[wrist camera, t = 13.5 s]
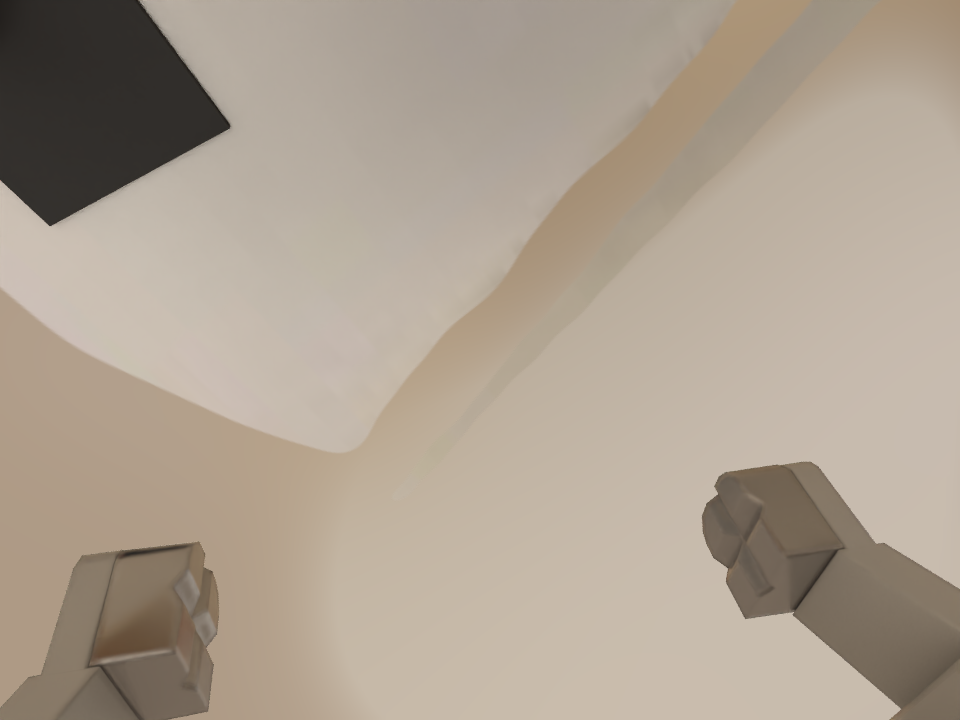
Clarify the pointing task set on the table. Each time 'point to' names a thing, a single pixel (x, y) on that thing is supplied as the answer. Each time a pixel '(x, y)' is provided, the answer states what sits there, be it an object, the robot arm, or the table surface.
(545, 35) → the table surface
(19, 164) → the placemat
